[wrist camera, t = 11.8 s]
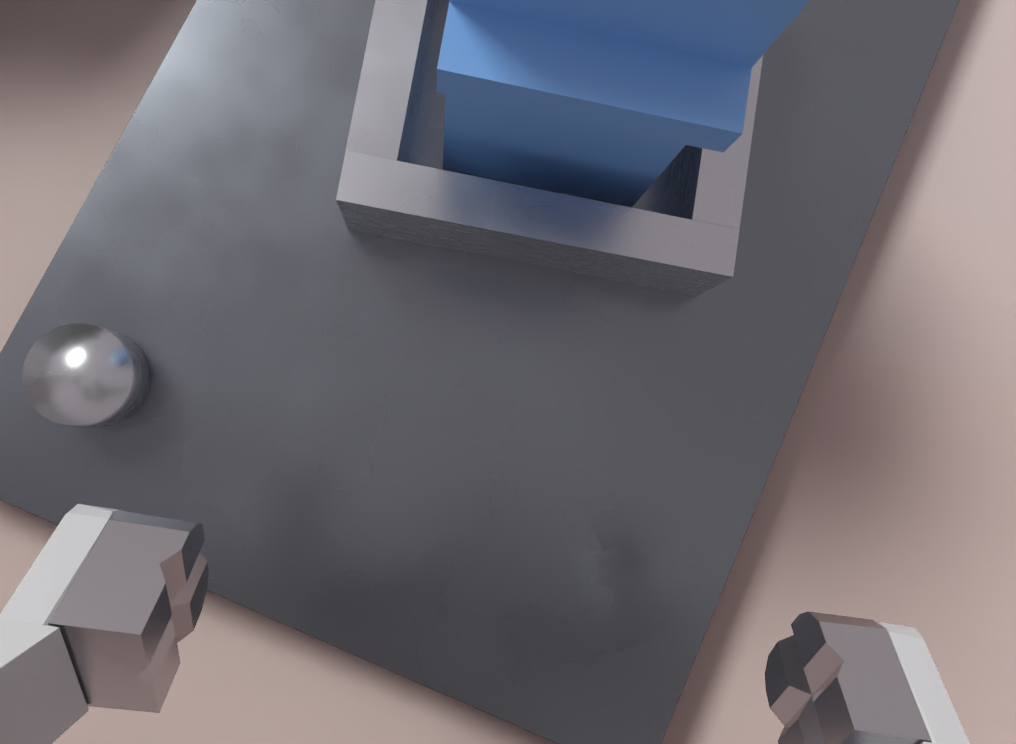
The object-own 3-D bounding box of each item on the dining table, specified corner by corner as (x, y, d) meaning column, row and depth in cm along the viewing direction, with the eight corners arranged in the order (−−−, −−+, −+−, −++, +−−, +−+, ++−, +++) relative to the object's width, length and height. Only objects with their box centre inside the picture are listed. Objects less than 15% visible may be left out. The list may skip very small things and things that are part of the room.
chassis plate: (-35, 469, 16) (-142, 475, 13) (406, -331, 19) (402, -477, 16) (632, 762, 17) (676, 831, 14) (958, -44, 20) (1053, -131, 17)
